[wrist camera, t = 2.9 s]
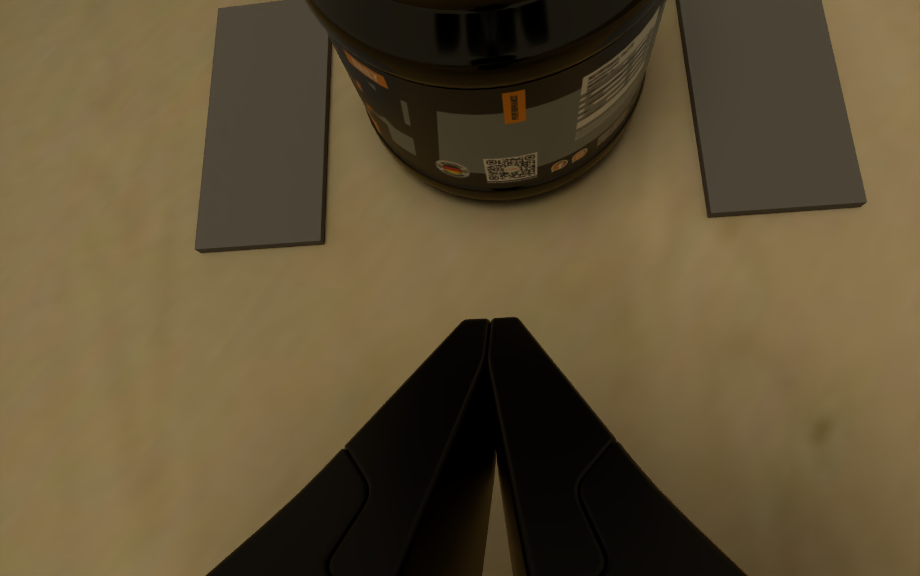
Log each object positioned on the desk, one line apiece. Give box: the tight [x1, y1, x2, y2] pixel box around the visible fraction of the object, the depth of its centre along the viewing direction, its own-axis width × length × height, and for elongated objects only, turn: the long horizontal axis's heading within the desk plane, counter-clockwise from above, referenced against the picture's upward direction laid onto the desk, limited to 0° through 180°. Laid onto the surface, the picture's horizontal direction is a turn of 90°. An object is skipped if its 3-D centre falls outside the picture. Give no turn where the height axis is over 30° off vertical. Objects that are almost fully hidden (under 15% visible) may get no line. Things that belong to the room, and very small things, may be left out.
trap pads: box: [195, 0, 867, 253], centre depth 22 cm, size 11×24×1 cm, turn 92°
